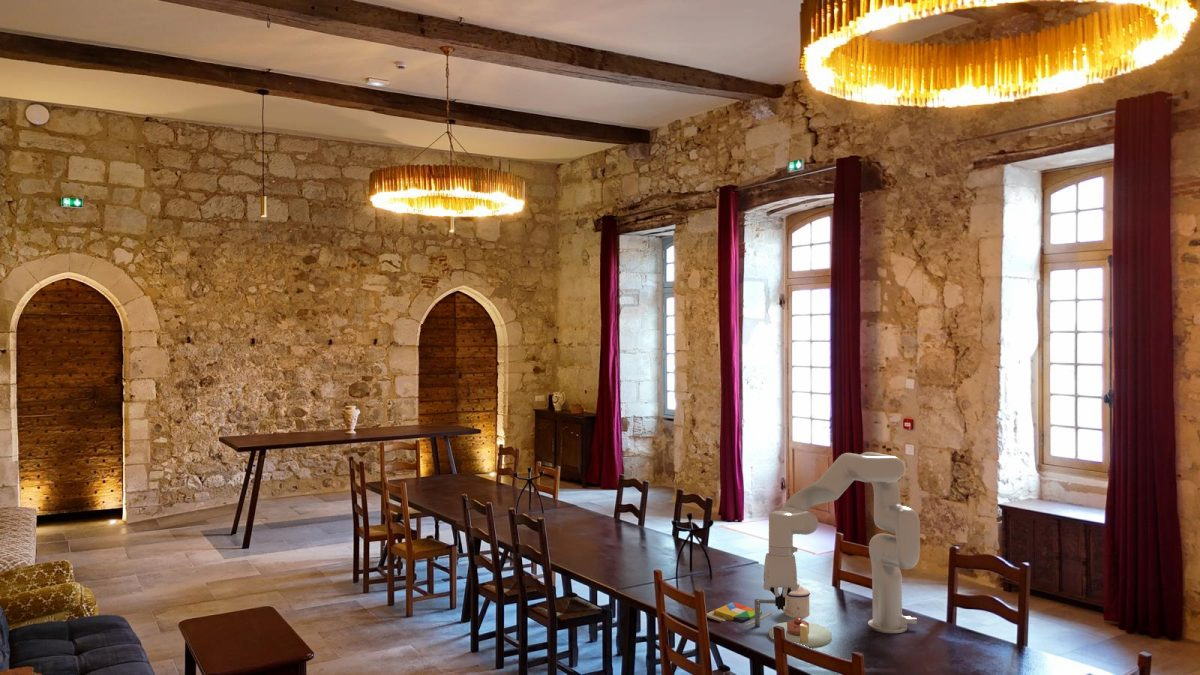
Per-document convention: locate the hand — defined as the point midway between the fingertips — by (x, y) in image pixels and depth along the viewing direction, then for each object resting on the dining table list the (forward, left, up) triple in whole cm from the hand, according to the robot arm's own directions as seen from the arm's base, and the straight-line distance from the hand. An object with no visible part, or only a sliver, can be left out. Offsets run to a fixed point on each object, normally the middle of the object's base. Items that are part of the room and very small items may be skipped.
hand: (780, 608), depth 274 cm
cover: (-7, -9, -11) cm, 15 cm away
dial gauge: (+2, -18, -13) cm, 23 cm away
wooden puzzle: (+12, -30, -14) cm, 35 cm away
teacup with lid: (-8, -31, -13) cm, 35 cm away
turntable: (-7, -9, -12) cm, 17 cm away
